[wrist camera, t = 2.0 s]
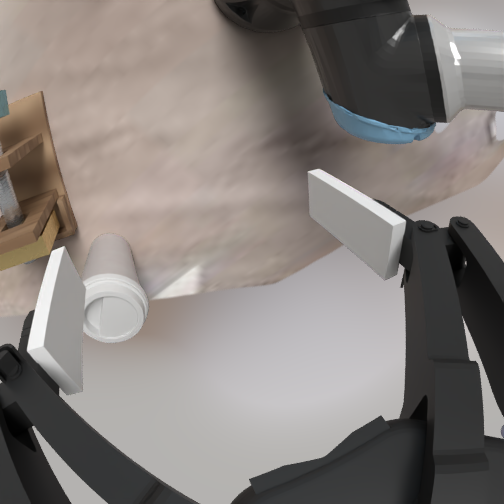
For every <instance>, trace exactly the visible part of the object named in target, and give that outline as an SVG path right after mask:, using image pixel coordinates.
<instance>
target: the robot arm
mask: <svg viewBox="0 0 504 504" xmlns="http://www.w3.org/2000/svg"><path fill="white" fill-rule="evenodd" d="M215 2H216V4H217V6H218V7H219V8H220V10H221V11H222V12H223V13H224V14H225V15H226V16H227V17H228V18H229V19H230V20H232V21H233V22H235V23H236V24H238V25H240V26H242V27H244V28H247V29H250V30H253V31H258V32H278V31H282V30H286V29H290V28H293V27H295V26H297V25H299V24H301V27H302V30H303V33H304V35H305V38H306V40H307V43H308V45H309V48H310V51H311V53H312V56H313V59H314V62H315V65H316V68H317V71H318V73H319V76H320V80H321V83H322V86H323V93H324V96H325V98H326V99H327V101H328V102H329V104H330V107H331V110H332V113H333V115H334V118H335V120H336V122H337V123H338V124H339V126H340V127H342V128H343V129H344V130H346V131H347V132H348V133H349V134H351V135H353V136H356V137H358V138H360V139H364V140H367V141H371V142H377V143H385V144H406V143H412V142H413V140H418V141H420V140H423V139H425V138H427V137H429V136H430V135H431V134H432V132H433V131H434V128H435V126H436V122H444V123H450V122H451V121H452V120H453V119H454V118H455V117H456V115H457V114H458V113H459V112H460V111H462V110H463V109H475V110H489V111H501V112H504V32H503V31H494V30H480V29H455V28H454V29H452V28H449V27H446V26H445V25H443V24H442V23H440V22H439V21H438V20H437V19H435V18H434V17H433V16H431V15H412V13H411V10H410V7H409V4H408V1H407V0H215ZM308 191H309V215H310V217H312V218H313V219H314V220H315V221H316V222H318V223H319V224H320V225H321V226H322V227H324V228H325V229H326V230H327V231H328V232H330V233H331V234H332V235H333V236H334V237H335V238H337V239H338V240H339V241H340V242H341V243H342V244H344V245H345V246H346V247H347V248H348V249H350V250H351V251H352V252H353V253H354V254H355V255H356V256H358V257H359V258H360V259H361V260H362V261H363V262H364V263H365V264H367V265H368V266H369V267H370V268H371V269H372V270H373V271H374V272H376V273H377V274H378V275H379V276H380V277H381V278H382V279H383V280H387V279H389V278H391V277H393V276H395V275H397V272H398V267H399V263H400V264H401V265H402V266H403V267H404V268H405V269H404V274H403V278H402V283H401V288H403V285H404V292H405V315H406V316H405V317H406V368H405V391H404V403H403V408H402V411H401V414H400V418H399V419H394V420H389V421H385V420H384V419H383V417H382V416H379V417H378V418H376V419H375V420H373V421H371V422H369V423H368V424H366V425H364V426H363V427H361V428H359V429H357V430H356V431H354V432H352V433H351V434H350V435H349V436H348V437H347V438H346V439H345V440H344V441H342V442H341V443H340V444H339V445H338V446H337V447H336V448H335V449H333V450H332V451H331V452H330V453H329V454H328V455H326V456H325V457H323V458H319V459H315V460H310V461H306V462H301V463H296V464H291V465H285V466H282V467H280V468H277V469H275V470H272V471H270V472H268V473H265V474H262V475H259V476H257V477H254V478H251V479H249V480H250V482H251V486H250V487H248V488H247V489H245V490H244V491H243V492H241V493H240V494H239V495H238V496H237V497H236V498H235V499H234V500H233V501H232V503H231V504H504V439H501V438H495V437H490V436H485V435H484V416H483V400H482V390H481V389H482V388H481V378H480V370H479V366H478V363H477V362H476V361H470V360H469V357H468V349H467V342H466V335H465V329H464V323H463V318H464V321H465V323H466V325H467V327H468V330H469V332H470V334H471V336H472V339H473V341H474V344H475V346H476V348H477V351H478V353H479V356H480V359H481V361H482V364H483V366H484V369H485V372H486V375H487V377H488V380H489V383H490V386H491V389H492V392H493V394H494V397H495V400H496V402H497V405H498V407H499V409H500V411H501V413H502V415H503V417H504V262H503V261H502V259H501V258H500V257H499V255H498V254H497V253H496V251H495V250H494V249H493V247H492V246H491V245H490V243H489V242H488V241H487V240H486V238H485V237H484V236H483V234H482V233H481V232H480V231H479V230H478V228H477V227H476V226H475V225H474V224H473V223H472V222H471V221H470V220H468V219H467V218H463V217H452V218H451V219H450V223H449V227H446V228H439V227H438V226H437V225H436V224H434V223H432V222H429V221H425V220H421V221H420V220H419V221H416V222H414V221H412V220H411V219H409V218H408V217H406V216H405V215H403V214H402V213H400V212H399V211H396V210H395V209H394V208H392V207H390V206H389V205H387V204H386V203H384V202H382V201H379V200H376V199H371V198H369V197H368V196H366V195H364V194H363V193H361V192H359V191H358V190H356V189H354V188H353V187H351V186H349V185H347V184H346V183H344V182H342V181H340V180H339V179H337V178H335V177H333V176H332V175H330V174H328V173H326V172H324V171H323V170H321V169H316V170H312V171H308ZM465 261H466V262H467V266H466V265H465ZM85 295H86V288H85V286H84V284H83V282H82V280H81V278H80V276H79V274H78V272H77V270H76V268H75V266H74V264H73V262H72V260H71V258H70V256H69V254H68V252H67V250H66V248H65V246H63V247H61V248H58V249H56V250H53V251H52V252H51V255H50V259H49V262H48V265H47V268H46V272H45V275H44V278H43V282H42V285H41V289H40V293H39V297H38V301H37V305H36V309H35V310H33V311H30V312H29V314H28V316H27V317H26V319H25V321H24V325H23V331H22V333H21V338H20V343H19V348H18V351H17V350H16V349H15V347H14V346H13V345H11V344H4V345H2V346H0V380H1V381H2V383H1V384H0V504H71V502H70V501H69V499H68V497H67V496H66V494H65V492H64V490H63V489H62V487H61V485H60V484H59V482H58V480H57V478H56V476H55V475H54V473H53V471H52V469H51V467H50V465H49V463H48V461H47V459H46V457H45V455H44V453H43V451H42V449H41V447H40V444H39V442H38V440H37V438H36V436H35V433H34V431H33V429H32V426H35V427H36V429H37V430H38V431H39V432H40V434H41V435H42V436H43V437H44V439H45V440H46V441H47V442H48V443H49V444H50V445H51V447H52V448H53V449H54V450H55V451H56V452H57V454H58V455H59V456H60V457H61V458H62V459H63V460H64V461H65V462H66V463H67V465H68V466H69V467H70V468H71V469H72V470H73V471H74V472H75V473H76V474H77V475H78V476H79V477H80V478H81V479H82V480H83V481H84V482H85V483H86V484H87V485H88V486H89V487H90V488H91V489H93V490H94V491H95V492H96V493H97V494H98V495H99V496H100V497H101V498H103V499H104V500H105V501H106V502H107V503H108V504H199V503H198V502H196V501H194V500H192V499H190V498H189V497H187V496H185V495H183V494H182V493H180V492H179V491H177V490H175V489H174V488H172V487H171V486H169V485H168V484H166V483H164V482H163V481H161V480H160V479H158V478H157V477H155V476H154V475H152V474H151V473H149V472H148V471H147V470H145V469H144V468H142V467H141V466H140V465H138V464H137V463H136V462H134V461H133V460H132V459H130V458H129V457H127V456H126V455H125V454H124V453H122V452H121V451H120V450H119V449H117V448H116V447H115V446H114V445H112V444H111V443H110V442H109V441H107V440H106V439H105V438H104V437H102V435H100V434H99V433H98V432H97V431H96V430H95V429H93V428H92V427H91V426H90V425H89V424H88V423H87V422H86V421H84V419H82V418H81V417H80V416H79V415H78V414H77V413H76V412H75V411H74V410H73V409H72V408H71V407H70V406H69V405H68V404H67V403H66V402H65V401H64V400H63V399H62V398H61V397H60V396H59V387H60V388H61V389H62V391H63V392H64V393H65V394H66V395H70V394H75V393H79V392H82V391H83V385H82V384H83V379H82V353H83V324H84V308H85ZM462 316H463V318H462ZM501 435H502V436H503V438H504V425H503V426H502V428H501Z"/></svg>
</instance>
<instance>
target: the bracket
mask: <svg viewBox="0 0 504 504" xmlns="http://www.w3.org/2000/svg"><path fill="white" fill-rule="evenodd" d="M8 107H9V113H10V114H9V115H7V116H5V117H2V118H0V142H1V146H2V150H3V154H2V155H1V156H0V172H2V171H4V170H6V169H8V172H9V175H10V178H11V181H12V185H13V188H14V191H15V194H16V197H17V199H18V202H19V205H20V208H21V211H22V213H23V216H24V219H25V221H24V223H23V224H21V225H18V226H16V227H13V228H10V229H8V227H7V224H6V222H5V219H4V217H3V215H2V216H1V218H0V255H1V254H4V253H7V252H10V251H12V250H15V249H18V248H21V247H23V246H26V245H29V244H32V243H35V242H37V241H38V239H39V236H40V234H41V232H42V230H43V227H44V225H45V223H46V221H47V219H48V217H49V215H50V213H51V211H52V210H53V209H54V210H55V213H56V216H57V219H58V222H59V224H60V226H59V229H58V232H57V235H56V237H55V240H58V239H62V238H65V237H68V236H71V235H74V233H75V229H77V223H76V220H75V217H74V214H73V211H72V208H71V205H70V202H69V199H68V195H67V192H66V189H65V186H64V182H63V179H62V175H61V172H60V168H59V164H58V161H57V157H56V153H55V149H54V145H53V141H52V136H51V132H50V127H49V123H48V118H47V113H46V108H45V102H44V97H43V91H40V92H38V93H35V94H33V95H30V96H28V97H26V98H23V99H21V100H18V101H16V102H14V103H12V104H9V105H8ZM55 240H54V241H55Z"/></svg>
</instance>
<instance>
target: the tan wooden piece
mask: <svg viewBox="0 0 504 504" xmlns="http://www.w3.org/2000/svg"><path fill="white" fill-rule="evenodd" d="M59 226H60V224H59V222H58V219H57V216H56V213H55V210H54V209H53V210H52V211H51V213H50V215H49V217H48V219H47V221H46V223H45V225H44V227H43V230H42V232H41V234H40V236H39V239H38V241H37V242H35V243H32V244H29V245H26V246H23V247H21V248H18V249H15V250H12V251H10V252H7V253H4V254H1V255H0V271H2V270H4V269H7V268H10V267H13V266H16V265H19V264H22V263H25V262H28V261H31V260H34V259H37V258H40V257H43V256H46V255H49V254H50V252H51V249H52V246H53V243H54V240H55V237H56V235H57V232H58V229H59Z"/></svg>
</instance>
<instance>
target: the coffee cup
mask: <svg viewBox="0 0 504 504" xmlns="http://www.w3.org/2000/svg"><path fill="white" fill-rule="evenodd" d="M81 280H82V282H83V284H84V286H85V288H86V295H85V308H84V324H83V331H84V332H85V333H86V334H87V335H89V336H90V337H91V338H93V339H96V340H98V341H101V342H106V343H117V342H122V341H125V340H128V339H130V338H132V337H133V336H134V335H136V334H137V333H138V332H139V330H140V329H141V327H142V325H143V324H144V322H145V320H146V318H147V315H148V310H149V301H148V297H147V295H146V293H145V291H144V290H143V288H142V287H141V286H140V283H139V280H138V276H137V272H136V269H135V265H134V261H133V257H132V253H131V249H130V246H129V244H128V242H127V241H126V240H125V239H124V238H123V237H122V236H120V235H118V234H114V233H106V234H102V235H100V236H98V237H97V238H96V239H95V240H94V241H93V242H92V244H91V247H90V250H89V253H88V257H87V260H86V264H85V267H84V271H83V274H82V278H81Z"/></svg>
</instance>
